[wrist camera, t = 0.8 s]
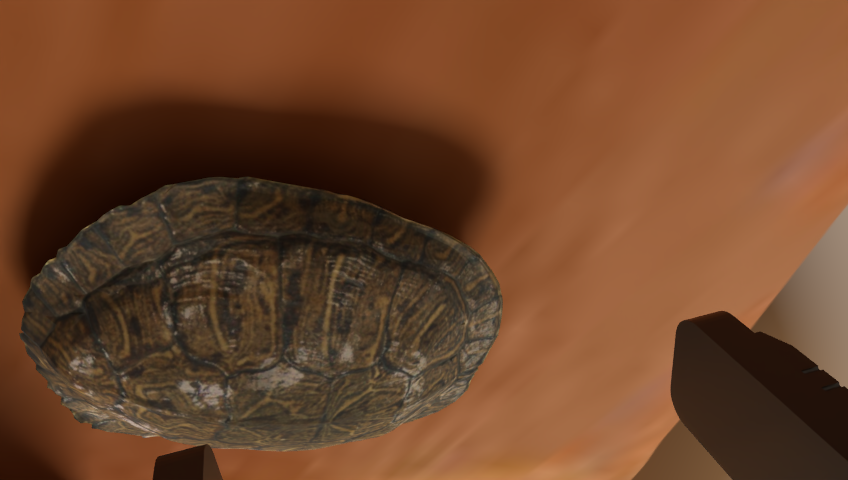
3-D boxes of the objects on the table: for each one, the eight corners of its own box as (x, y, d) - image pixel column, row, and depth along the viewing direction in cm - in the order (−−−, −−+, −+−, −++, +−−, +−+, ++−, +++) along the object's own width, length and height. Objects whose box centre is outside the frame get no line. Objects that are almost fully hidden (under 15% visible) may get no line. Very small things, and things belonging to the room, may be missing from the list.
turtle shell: (-41, 213, 19) (581, 319, 24) (65, 82, 26) (528, 184, 31) (-3, 518, 28) (442, 548, 33) (68, 359, 35) (425, 404, 40)
